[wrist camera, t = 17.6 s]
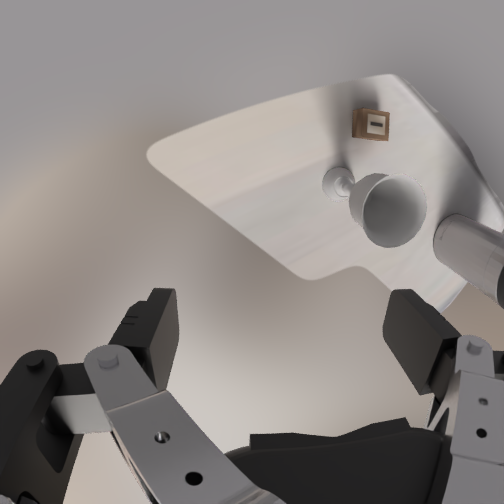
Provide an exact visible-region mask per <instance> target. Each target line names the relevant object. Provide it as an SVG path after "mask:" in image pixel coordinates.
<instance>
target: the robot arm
mask: <svg viewBox="0 0 504 504" xmlns="http://www.w3.org/2000/svg"><path fill="white" fill-rule="evenodd" d="M434 252H435V255H436V257H437V259H438V260H439V261H440V262H442V263H443V264H444V265H446V266H447V267H449V268H450V269H451V270H453V271H454V272H455V273H457V274H458V275H460V276H461V277H462V278H464V279H465V280H467V281H468V282H469V283H471V284H472V285H473V286H475V287H476V288H477V289H479V290H480V291H482V292H483V293H484V294H485V295H487V296H488V297H489V298H491V299H492V300H493V301H495V302H496V303H497V304H498V305H500V306H501V307H502V308H503V309H504V234H502V233H500V232H498V231H496V230H493V229H491V228H489V227H487V226H485V225H483V224H480V223H478V222H476V221H474V220H472V219H469V218H467V217H465V216H462V215H459V214H454V215H450V216H449V217H447V218H445V219H444V220H443V221H442V223H441V224H440V225H439V227H438V229H437V231H436V234H435V237H434ZM383 337H384V340H385V342H386V343H387V345H388V346H389V348H390V349H391V351H392V352H393V354H394V355H395V357H396V359H397V360H398V362H399V363H400V365H401V366H402V368H403V369H404V371H405V373H406V374H407V376H408V377H409V379H410V381H411V382H412V384H413V385H414V387H415V389H416V390H417V392H418V393H419V395H424V394H429V393H434V396H433V398H432V400H431V402H430V406H429V410H428V414H427V418H426V421H425V425H424V429H423V428H411V427H410V425H409V423H408V421H407V419H406V418H405V417H404V418H400V419H394V420H389V421H384V422H378V423H373V424H370V425H368V426H365V427H362V428H360V429H357V430H355V431H352V432H349V433H347V434H344V435H341V436H338V437H326V436H316V435H307V434H299V433H277V434H250V443H249V446H246V447H241V448H238V449H235V450H232V451H230V452H227V453H225V454H223V453H222V452H221V451H220V450H219V449H218V447H217V446H215V444H214V443H213V442H212V441H211V440H210V439H209V438H208V437H207V436H206V435H205V433H204V432H203V431H202V430H201V429H200V428H199V427H198V425H197V424H196V423H195V422H194V421H193V420H192V419H191V417H190V416H189V415H188V414H187V413H186V411H185V410H184V409H183V408H182V407H181V406H180V404H179V403H178V402H177V401H176V399H175V398H174V397H173V396H172V395H171V393H170V392H169V391H167V390H166V388H167V383H168V379H169V376H170V372H171V368H172V364H173V360H174V356H175V353H176V349H177V346H178V341H179V322H178V311H177V299H176V291H175V289H170V288H154V289H153V290H152V292H151V294H150V296H149V298H148V299H147V301H138V302H137V303H136V304H134V305H133V306H131V307H130V308H129V310H128V311H127V313H126V315H125V317H124V318H123V320H122V321H121V324H120V325H119V326H118V328H117V330H116V332H115V333H114V335H113V337H112V338H111V340H110V342H109V344H108V345H103V346H100V347H97V348H95V349H93V350H92V351H90V352H89V353H88V354H87V355H86V357H85V359H84V363H77V364H63V365H59V363H58V360H57V357H56V356H55V354H54V353H52V352H50V351H47V350H35V351H31V352H28V353H26V354H25V355H23V356H22V357H21V358H19V360H18V361H17V362H16V363H15V365H14V366H13V368H12V369H11V371H10V372H9V373H8V375H7V376H6V378H5V379H4V381H3V382H2V384H1V385H0V504H63V500H64V497H65V493H66V490H67V486H68V483H69V479H70V476H71V473H72V469H73V466H74V463H75V460H76V457H77V454H78V450H79V447H80V445H81V442H82V438H83V436H84V433H98V432H110V434H111V436H112V437H113V440H114V442H115V443H116V445H117V447H118V449H119V451H120V453H121V455H122V456H123V458H124V460H125V461H126V463H127V465H128V467H129V468H130V470H131V472H132V474H133V475H134V477H135V479H136V480H137V482H138V484H139V485H140V487H141V489H142V491H143V492H144V494H145V495H146V497H147V498H148V500H149V502H150V503H151V504H504V351H492V348H491V346H490V344H489V343H488V342H486V341H485V340H483V339H482V338H480V337H477V336H473V335H463V336H462V335H461V334H460V333H459V332H458V331H457V330H456V329H455V328H454V327H453V326H452V325H451V324H450V323H449V322H448V321H446V319H445V318H444V317H443V316H442V315H440V313H439V312H438V311H437V310H436V309H435V308H434V307H433V306H431V305H429V304H428V303H426V302H425V301H424V300H423V299H422V298H421V297H420V296H419V295H418V294H417V293H416V292H414V291H413V290H412V289H399V290H393V291H392V293H391V295H390V299H389V303H388V307H387V311H386V316H385V320H384V324H383Z"/></svg>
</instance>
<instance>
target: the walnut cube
mask: <svg viewBox="0 0 504 504" xmlns="http://www.w3.org/2000/svg"><path fill="white" fill-rule="evenodd" d="M389 115H390V113H388V112H383V111H378V110H372V109H366V108H361V109H357V110H353V128H352V137H355V138H362V139H369V140H376V141H388V138H389Z"/></svg>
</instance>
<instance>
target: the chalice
mask: <svg viewBox="0 0 504 504" xmlns="http://www.w3.org/2000/svg"><path fill="white" fill-rule="evenodd" d="M322 187H323V191H324V193H325V195H326V196H327V197H328V198H329V199H330V200H333V201H335V202H341V201H345V200H347V199H348V198H349V207H350V212H351V215H352V217H353V219H354V220H355V222H357V223H358V224H359V225H360V226H361V227H363V229H364V231H365V233H366V235H367V237H368V238H369V239H370V240H371V241H372V242H374V243H375V244H376V245H379V246H382V247H385V248H391V247H398V246H400V245H403V244H405V243H407V242H408V241H409V240H411V239H412V238H413V237H414V236H415V235H416V234H417V232H418V231H419V230H420V228H421V226H422V224H423V222H424V220H425V216H426V210H427V201H426V195H425V192H424V190H423V188H422V186H421V185H420V184H419V183H418V181H417V180H416V179H415V178H413V177H411V176H408V175H406V174H392V175H385V174H376V173H374V174H371V175H368V176H366V177H364V178H363V179H361V180H360V181H358V182H357V183H356V184H355V179H354V176H353V175H352V173H351V172H350V171H349V170H347V169H345V168H341V167H337V168H333V169H331V170H330V171H328V172H327V174H326V175H325V176H324V179H323V184H322Z"/></svg>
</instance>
